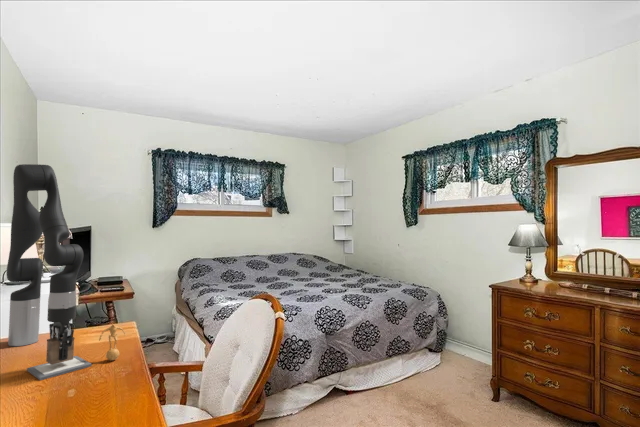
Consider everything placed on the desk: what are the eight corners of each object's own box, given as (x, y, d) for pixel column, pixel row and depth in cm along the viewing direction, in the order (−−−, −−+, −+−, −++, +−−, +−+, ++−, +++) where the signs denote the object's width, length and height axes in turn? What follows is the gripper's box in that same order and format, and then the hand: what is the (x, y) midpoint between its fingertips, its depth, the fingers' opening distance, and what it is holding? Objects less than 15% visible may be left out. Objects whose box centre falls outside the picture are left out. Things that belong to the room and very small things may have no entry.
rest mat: (26, 370, 114) (27, 367, 114) (76, 357, 125) (76, 355, 125) (40, 380, 107) (40, 377, 107) (91, 366, 118) (91, 363, 118)
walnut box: (45, 361, 115) (46, 339, 115) (67, 356, 120) (68, 334, 120) (51, 364, 112) (52, 342, 112) (73, 359, 117) (74, 337, 117)
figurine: (98, 364, 120) (100, 328, 120) (97, 359, 125) (99, 324, 125) (126, 359, 124) (128, 325, 125) (124, 354, 129) (125, 321, 130)
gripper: (40, 304, 118) (38, 356, 117) (57, 310, 110) (54, 366, 109) (66, 300, 124) (64, 350, 123) (84, 306, 116) (82, 359, 115)
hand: (60, 357), depth 116 cm, fingers closed on walnut box, 4 cm apart
